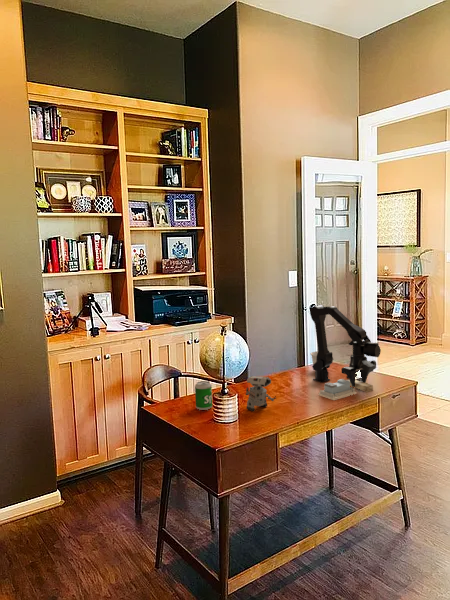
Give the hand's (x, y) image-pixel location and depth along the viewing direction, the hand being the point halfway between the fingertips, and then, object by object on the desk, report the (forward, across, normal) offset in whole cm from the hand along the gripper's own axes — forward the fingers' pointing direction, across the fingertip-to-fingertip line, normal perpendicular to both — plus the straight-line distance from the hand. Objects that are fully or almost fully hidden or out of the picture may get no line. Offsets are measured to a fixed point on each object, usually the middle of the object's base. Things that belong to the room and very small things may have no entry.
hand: (358, 385), depth 245 cm
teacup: (+2, +8, +33) cm, 34 cm away
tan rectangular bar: (+2, 0, 0) cm, 2 cm away
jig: (+1, -16, -1) cm, 16 cm away
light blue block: (0, -16, -1) cm, 16 cm away
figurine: (+2, -57, +6) cm, 57 cm away
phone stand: (+2, +13, +13) cm, 18 cm away
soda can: (+2, -76, +23) cm, 79 cm away
